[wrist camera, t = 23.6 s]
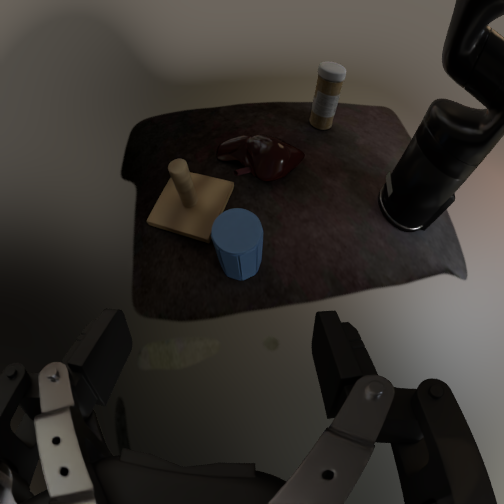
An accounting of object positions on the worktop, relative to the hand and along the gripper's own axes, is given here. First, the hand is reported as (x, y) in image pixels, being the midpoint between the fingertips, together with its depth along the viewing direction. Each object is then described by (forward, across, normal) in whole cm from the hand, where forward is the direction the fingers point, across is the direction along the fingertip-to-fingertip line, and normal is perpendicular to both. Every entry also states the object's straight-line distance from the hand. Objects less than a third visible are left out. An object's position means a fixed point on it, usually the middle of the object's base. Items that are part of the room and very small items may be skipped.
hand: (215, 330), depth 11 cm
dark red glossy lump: (+37, -2, -4) cm, 37 cm away
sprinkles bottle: (+44, -15, -11) cm, 48 cm away
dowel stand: (+31, +8, +2) cm, 32 cm away
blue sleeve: (+24, 0, +8) cm, 26 cm away
